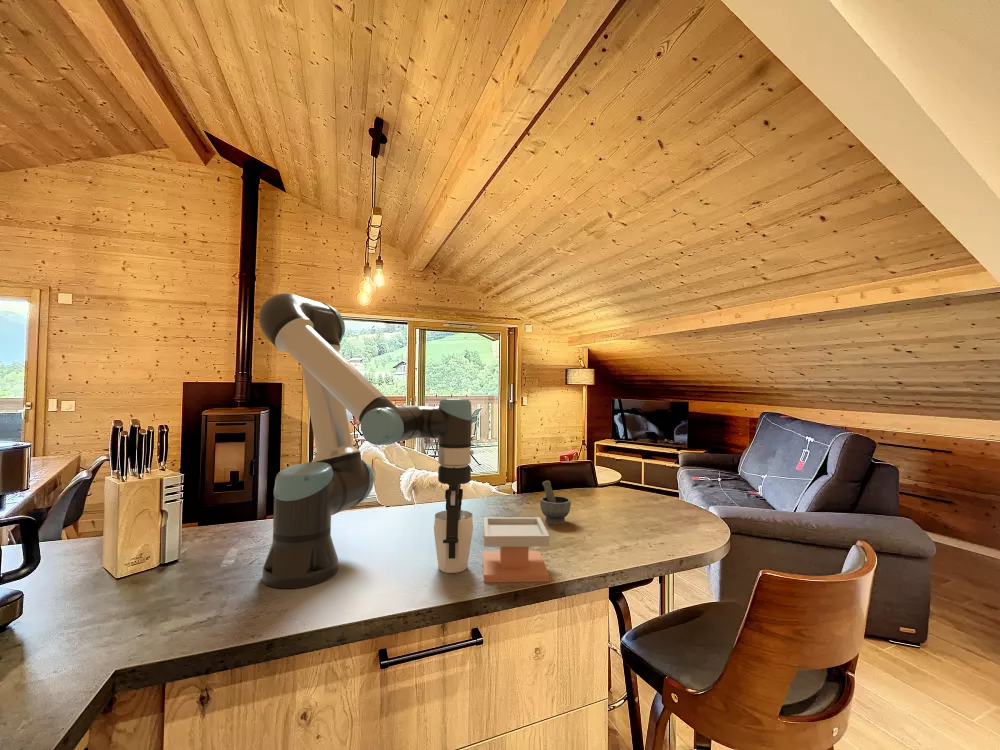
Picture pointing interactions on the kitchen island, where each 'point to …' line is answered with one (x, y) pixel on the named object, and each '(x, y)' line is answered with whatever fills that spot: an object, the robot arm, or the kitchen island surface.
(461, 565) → the cup
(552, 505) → the mortar and pestle
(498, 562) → the stand
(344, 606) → the kitchen island surface
